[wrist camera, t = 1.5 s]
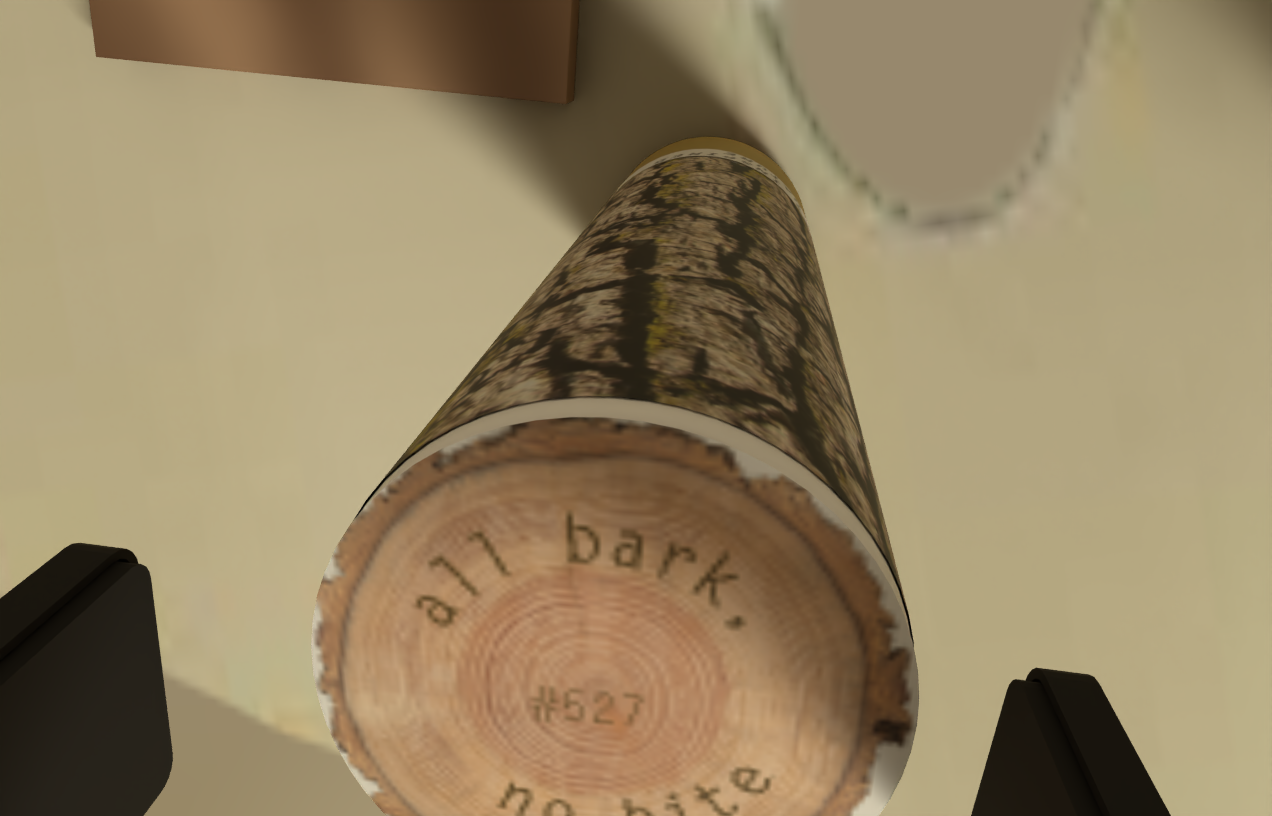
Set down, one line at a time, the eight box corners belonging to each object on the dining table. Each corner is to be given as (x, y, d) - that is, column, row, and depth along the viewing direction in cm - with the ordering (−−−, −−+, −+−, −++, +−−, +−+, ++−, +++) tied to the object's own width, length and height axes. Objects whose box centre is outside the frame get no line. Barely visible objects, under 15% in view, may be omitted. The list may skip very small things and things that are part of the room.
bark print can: (612, 130, 33) (273, 394, 10) (814, 136, 32) (965, 435, 9) (610, 322, 35) (340, 891, 12) (798, 331, 35) (883, 952, 12)
